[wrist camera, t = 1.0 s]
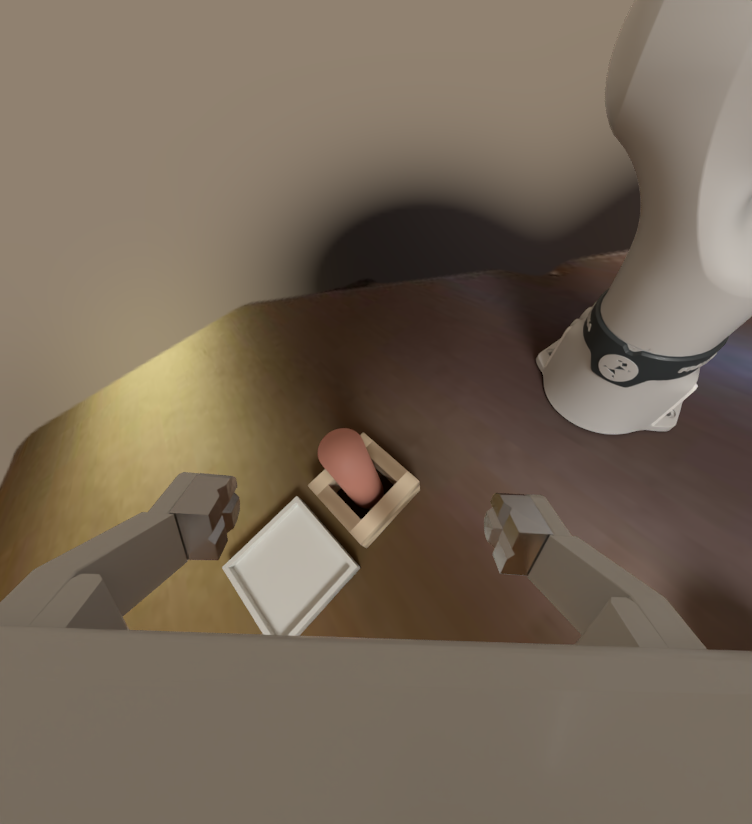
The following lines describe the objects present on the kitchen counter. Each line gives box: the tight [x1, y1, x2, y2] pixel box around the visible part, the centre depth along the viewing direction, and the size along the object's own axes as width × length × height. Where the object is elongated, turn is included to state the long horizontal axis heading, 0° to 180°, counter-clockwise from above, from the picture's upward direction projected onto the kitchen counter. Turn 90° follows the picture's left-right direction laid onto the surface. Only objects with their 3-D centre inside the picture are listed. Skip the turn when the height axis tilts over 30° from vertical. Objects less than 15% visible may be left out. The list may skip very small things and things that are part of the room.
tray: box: [222, 496, 361, 636], centre depth 38 cm, size 12×12×2 cm
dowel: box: [318, 428, 384, 509], centre depth 36 cm, size 4×4×15 cm
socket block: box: [308, 432, 420, 548], centre depth 41 cm, size 10×10×4 cm
